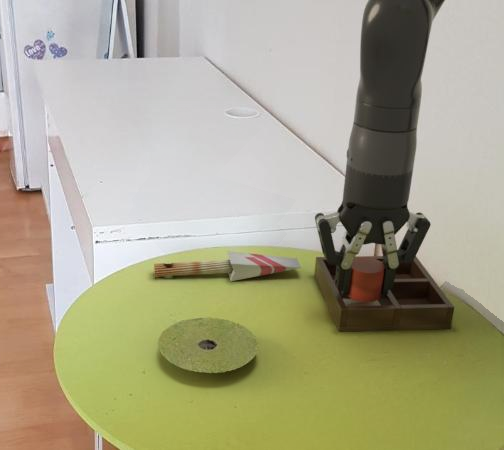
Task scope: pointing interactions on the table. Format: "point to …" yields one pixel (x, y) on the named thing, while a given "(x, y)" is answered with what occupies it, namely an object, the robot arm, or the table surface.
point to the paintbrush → (230, 266)
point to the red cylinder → (366, 279)
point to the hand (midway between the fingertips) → (363, 291)
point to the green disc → (208, 345)
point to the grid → (388, 301)
